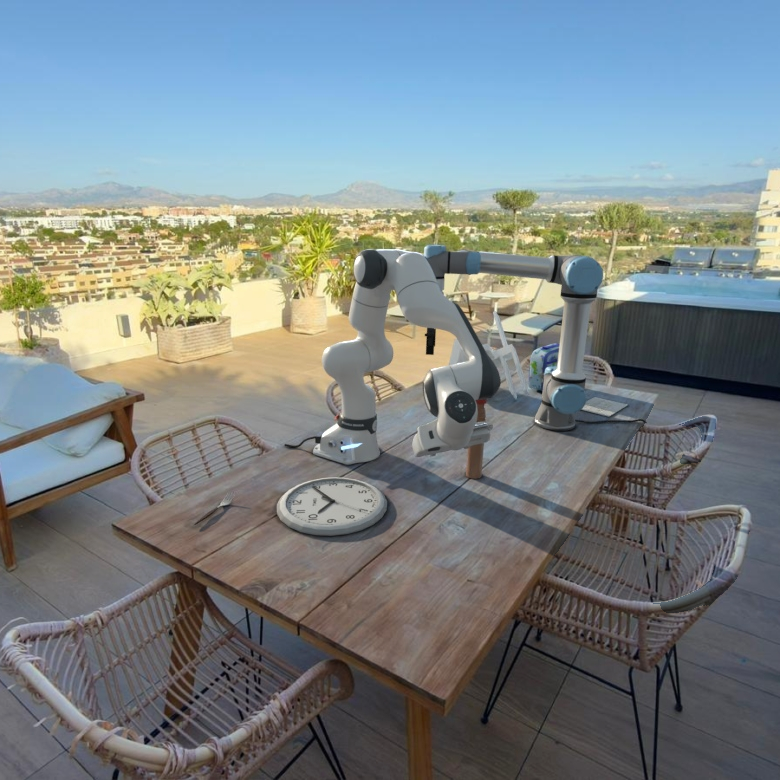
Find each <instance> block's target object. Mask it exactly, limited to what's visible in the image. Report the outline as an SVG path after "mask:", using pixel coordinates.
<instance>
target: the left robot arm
mask: <svg viewBox="0 0 780 780" xmlns="http://www.w3.org/2000/svg"><path fill="white" fill-rule="evenodd" d="M352 268H353V269H352V273H353V278H354V281H355V285H354V288H353V293H352V297H351V302H350V307H349V313H348V322H349V324H350V326H351V327H352V328H353V329H354V330H356V331H357V336H356V338H354V339H352V340H346V341H339V342H337V343H334V344H331V345H330V346H328V347H326V348H325V349H324V350H323V352H322V355H321V365H322V368H323V370H324V372H325V373H326V374H327V375H328V376H329V377H330V378H332V379H333V380H334V381H335V382H336V384H337V386H338V388H339V392H340V398H341V399H340V400H341V410H340V412H339V413H337V415H336V416H335V417H334V421H337V422H336V423H334V424H333V425H331V426H330V427H328V428H327V429H326V430H325V431H324V430H323V431H322V430H320V431H318V432H317V434H316V435H313V436H309V437H306V438H304V439H303V440H302V441H301V442H299V444H296V445H293V444H287V443H284V447H288V448H293V449H294V448H295V449H296V448H300V447H301V446H302V445H303V444H304V443H305V442H308V441H310V440H315V441H314V443H315V444H316V445H315V446H314V447H313V450H312V453H313V456H316V457H317V456H318V457H321V458H324V459H327V460H331V461H333V462H337V463H339V464H343V465H347V466H349V465H354V464H357V463H359V464H360V463H367V462H371V461H374V460H376V459H378V458H379V457H380V455H381V451H380V448H379V444H378V436H377V430H378V414H377V411H376V409H377V407H376V405H377V403H376V401H377V400H376V399H377V398H376V397H377V394H376V391H375V389H374V387H371V386H370V385H369V384H367V383H366V382H365V379H364V378H365V376H364V375H365V374H367V373H370V372H376V371H379V370H381V369H383V368H385V367H387V366H389V365H390V364H391V363H392V362H393V359H394V348H393V345H392V343H391V341H389V340H388V339H387V337H386V332H385V323H386V318H387V312H388V309H389V304H390V299H391V294H392V292H393V291H394V292H395V295H396V299H397V302H398V306H399V308H400V311H401V313H402V315H403V317H404V318H405V320H406V321H408V322H409V323H411V324H413V325H415V326H417V327H420V328H426V329H427V328H434V329H436V330H441V331H446V332H448V333H450V334H451V335H453V336H454V337H455V339H458V341H459V343H460V345H461V347H462V349H463V351H464V353H465V354H466V356H467V358H468V360H469V361H466V362H462V363H458V364H454V365H449V364H448V365H444V366H439V367H435V368H431V369H429V370H428V371H427V372H426V374H425V375H424V378H423V380H422V395H423V400H424V404H425V406H426V409H427V410H428V412H429V413H430V414H431V415H432V416H434V417H435V418H436V419H434V420H432V421H429V422H427V423H424V424H421V425H419V426H418V427H417V433H415V435H414V436H413V439H412V442H411V446H412V451H413V454H414V457H416V458H422V457H426V456H429V457H435V456H436V455H437V454H441V453H445V452H449V451H460V450H462V449H463V450H468V448H470V446H472V445H477V444H481V443H484V444H485V443H488V442H489V441H490V439H491V431H492V430H493V427H494V425H493V423H488V422H487V421H486V422H478V423H476V421H477V415H478V410H477V404H476V401H475V400H483V399H487V400H489V399H490V400H491V399H492V398H493V397H494V396H495V395H496V394H497V392H498V390H499V389H500V387H501V384H502V381H501V375H500V373H499V372H500V371H499V370H498V367H496V366H495V364H494V362H493V361H492V360H491V358H490V357H489V356H488V354H487V353H486V351H485V349H484V347H483V346H482V345H483V344H482V342H481V340H480V338H479V336H478V334H477V333H476V331H475V329H474V327H473V325H472V323H471V322H470V320H469V318H468V317H467V315H466V313H465V311H464V310H463V309H462V307H461V306H460V305H459V303H457V302H454V301H451V300H450V299H449V298H447V296H445V294H444V295H443V293H444V292H443V293H442V292H441V290H440V288H439V286H438V283H437V280H436V277H435V275H434V273H433V270H432V268H431V266H430V265H429V261H428V259H427V258H426V256H424V253H421V252H417V251H408V250H402V249H395V248H392V249H374V248H368V249H364V250H363V249H362V250H361V251H359V252H358V254H357V255H356V256H355V257H354V260H353V266H352Z"/></svg>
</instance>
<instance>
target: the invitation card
mask: <svg viewBox="0 0 780 780" xmlns="http://www.w3.org/2000/svg"><path fill="white" fill-rule="evenodd" d="M628 406H629V404H627V403H623V402H618V401H614V400H609V399H605V398H601V397H596V396H593V397H592V398H590V399H587V401H586V404H585V406H584V407H583V408H582V409H581V410H580V411H584V412H587V413H593V414H596V415H600V416H604V417H608V418H609V417H611V416H613V415H614V414H616V413H617V412H619V411H621V410H623V409H624V408H626V407H628Z"/></svg>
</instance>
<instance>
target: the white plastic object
mask: <svg viewBox="0 0 780 780" xmlns="http://www.w3.org/2000/svg"><path fill="white" fill-rule="evenodd" d="M492 315H493V319H494V321H495V324H496V325H495V326H496V328H497V332H498V335H499V338H500V342H501V345H502V347H500V348H498V349H496V350H495V349H493V348H492V347H491V346H490V344H489V343H488V342H487V343H483V344H482V346H483V347H484V349H485V351H486V353H487V354H488V356H489V357H490V358H491V360H492V361H493V362H494V364H495V366H496V367H497V368H499V367H500V366H502V370H503V373H504V376H505V380H506V383H507V386H508V390H509V393H510V394H511V395H512V397H513V398H514V399H515V400H517V392H516V391H517V390H516V388H515V385H514V381H513V378H512V375H511V371H510V369H509V365H508V361H510V360H513V363H514V366H515V369H516V372H517V376H518V380H519V382H520V385H521V389H522V391H523V393H524V395H525V396H526V397H528V396H531V395H530V390H529V386H528V384H527V381H526V378H525V375H524V371H523V369H522V368H523V367H522V366H521V362H520V359H519V355H518V352H517V349H516V347H515V346H514V345H513V343H511V344H508V341H507V337H506V334H505V331H504V328H503V325H502V321H501V318H500V315H499V314H498V312H497V311H496V310H495V311H492ZM466 361H469V360H468V358H467V356H466V354H465V353H464V351H463V349H462V347H461V345H460V343H459V341H458V339H457V338H454V340H453V344H452V349H451V353H450V357H449V362H448V366H449V365H454V364H458V363H462V362H466Z"/></svg>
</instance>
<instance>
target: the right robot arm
mask: <svg viewBox="0 0 780 780" xmlns="http://www.w3.org/2000/svg"><path fill="white" fill-rule="evenodd" d="M423 255H424V256H426V258H427V259H428V261H429V265H430V266H431V268H432V270H433V273H434V275H435V277H436V280H437V283H438V286H439V288H440V290H441V292H442V293H443V295H444V296H445V292H444V290H445V280H446V279H445V274H447V275H468V276H471V275H478V274H487V275H497V276H507V277H508V276H509V277H516V278H518V277H519V278H527V279H536V280H545V281H546V282H547V283H549V284H557V285H560V286H561V287H560V298H561V299H562V300H563V312H562V318H561V319H562V320H561V329H560V337H559V344H560V345H559V354H558V363H557V366H553V367H547V368H546V369H545V373H544V382H543V391H541V392H542V394H541V402H540V405H539V407H538V410H537V411H536V413H535V416H534V424H535V425H536V426H537V427H539V428H542V429H544V430H549V431H556V432H567V431H572V430H574V429H575V428H576V423H582V424H601V423H636V422H643V423H644V424H647V423H648V422H647V421H646V420H645V419H643V418H637V419H632V420H631V419H629V420H626V419H622V420H621V419H604V420H593V421H591V420H590V421H588V420H582V419H576V418H575V417H576V416H575V414H576V413H579V412H580V411H582V410H581V409H582V408H583V407H584V406H585V404H586V401H588V397H587V392H586V391H585V390H586V389H585V388H586V383H587V382H586V381H587V375H586V374H585V373H584V372H583V369H584V360H585V353H586V347H587V337H588V330H589V322H590V314H591V306H592V303H593V302H594V301H596V300H597V297H598V291H599V288H600V286H601V285H602V283H603V280H604V270H603V267H602V265H601V264H600V263H599V262H598V261H597V260H596V259H595V258H593V257H591V256H587V255H581V254H580V255H579V254H572V255H571V254H570V255H569V254H568V255H554V254H553V255H551V256H549V257H545V256H544V257H543V256H532V255H522V254H511V253H499V252H490V251H489V252H488V251H477V250H468V249H459V250H457V251H449V250H447V247H446V245H444V244H427V245H425V246H424V248H423ZM436 336H437V329H435V328H426V333H424V337H425V340H426V341H425V342H426V343H425V355H428V356H434V355H435V352H434V351H435V347H436V338H437V337H436Z"/></svg>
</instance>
